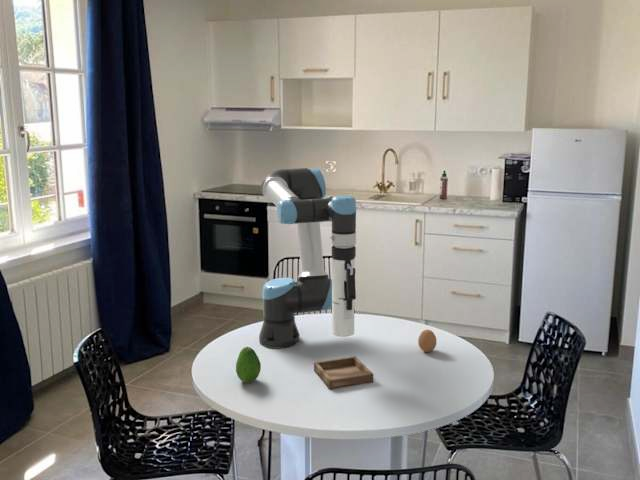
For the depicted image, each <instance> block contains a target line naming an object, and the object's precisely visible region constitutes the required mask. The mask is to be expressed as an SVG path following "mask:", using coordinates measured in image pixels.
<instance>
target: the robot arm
mask: <svg viewBox="0 0 640 480" xmlns="http://www.w3.org/2000/svg"><path fill="white" fill-rule="evenodd" d="M324 177H325V176H324V175H323V173H322V172H321V170H320V169H319V168H311V167H305V168H302V167H301V168H287V169H286V168H285V169H284V168H281V169H276V170H274V171H272V172H270V173H268V174H267V175H266V176H265V177H264V179H263V180H262V183H261V186H260V192H261V194H262V196H263V197H264V199H265V200H267V201H268V202H270V203H273V205H275V207H276V213H277V214H276V215H277V219H278V222H279V223H280V224H282V225H295V224H296V226H297V238H298V247H299V248H298V249H299V250H298V251H299V263H300V273H299V275H298V276H297V281H295V280H294V279H293V278H291V277H278V278H274V279H270V280H269V281H267V282H265V283H264V285H263V287H262V296H261V297H262V310H263V315H262V316H263V317H262V318H263V322H262V326H261V329H260V331H259V337H258V340H259V341H258V342H259V344H260V345H262V346H263V347H266V348H271V349H286V348H291V347H294V346H296V345H297V344H299V343H300V341H301V338H300V332H299V329H298V326H297V323H296V320H295V319H296V318H295V315H296V314H302V313H303V314H304V313H313V312H322V311H328V310H330V309H332V278H329V274H328V273H327V272H326V271H325V269H324V268H325V267H324V258H323V245H322V244H323V243H322V234H321V223H327V222H331V236H330V239H331V244H332V247H331V259H332V258H334V259H337V260H344V261H345V263H344V269H345V270H347V271H346V281H344V295H345V299H343V301H344V320H347V319H352V308H353V300H354V301H355V300H356V299H357V295H356V293H357V292H356V291H357V290H356V267H355V268H351V260H352V259H354V258H356V257H357V256H356V254H357V252H356V251H357V248H356V244H357V231H356V229H357V226H356V225H357V202H356V198H355V197H354V196H353V195H352V196H351V195H336V196H335V195H334V196H331V195H328V196H326V195H327V191H326V190H327V187H326V186H327V185H326V181H325V178H324Z"/></svg>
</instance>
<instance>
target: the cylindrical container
mask: <svg viewBox="0 0 640 480" xmlns="http://www.w3.org/2000/svg"><path fill="white" fill-rule="evenodd" d="M355 258H356V257H355ZM355 258H354V259H352V260H351V268H355V269H356V266H355V265H356V259H355ZM344 263H345V261H344V260H337V259H334V258H332V257H331V279H332V307H331V334H332V335H333V336H336V337H341V338H347V337H351V336H353V335H354V334H355V299H354V300H353V308H352V319H347V320H344V301H343V299H345V295H344V281H346V271H347V270H345V269H344Z"/></svg>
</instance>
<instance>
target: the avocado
mask: <svg viewBox="0 0 640 480" xmlns="http://www.w3.org/2000/svg"><path fill="white" fill-rule="evenodd" d="M260 372H261V360H260V359H259V356H258V355H257V353H256V352H255V350H254V349H253V348H252V347H250V346H245V347H242V349H241V350H240V352H239V353H238V357H237V359H236V363H235V373H236V375H237V378H238V379H239V380H240V381H241V382H243V383H246V384H247V383H252V382H254V381H255V380H256V379H258V377H259V376H260Z"/></svg>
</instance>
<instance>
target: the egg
mask: <svg viewBox="0 0 640 480" xmlns="http://www.w3.org/2000/svg"><path fill="white" fill-rule="evenodd" d="M417 340H418V341H417V342H418V346H419V348H420V350H421V351H422V352H425V353H430V352H433V350H434V349H435V348H436V346H437V337H436V335H435V333H434V332H433V331H432V330H431V329H424V330H422V331H421V333H420V334H419V336H418V339H417Z"/></svg>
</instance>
